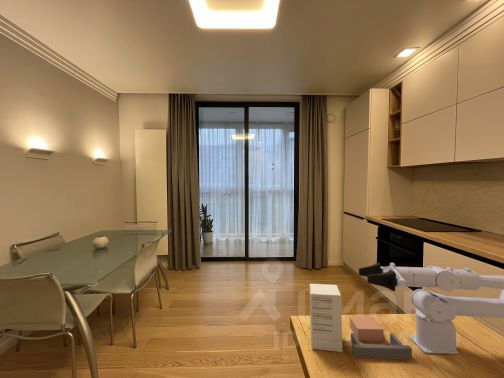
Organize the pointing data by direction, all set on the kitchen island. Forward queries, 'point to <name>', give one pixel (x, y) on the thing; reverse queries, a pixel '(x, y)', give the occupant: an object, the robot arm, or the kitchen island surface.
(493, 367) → the kitchen island surface
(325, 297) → the supplement box
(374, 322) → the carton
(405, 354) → the grey tray
